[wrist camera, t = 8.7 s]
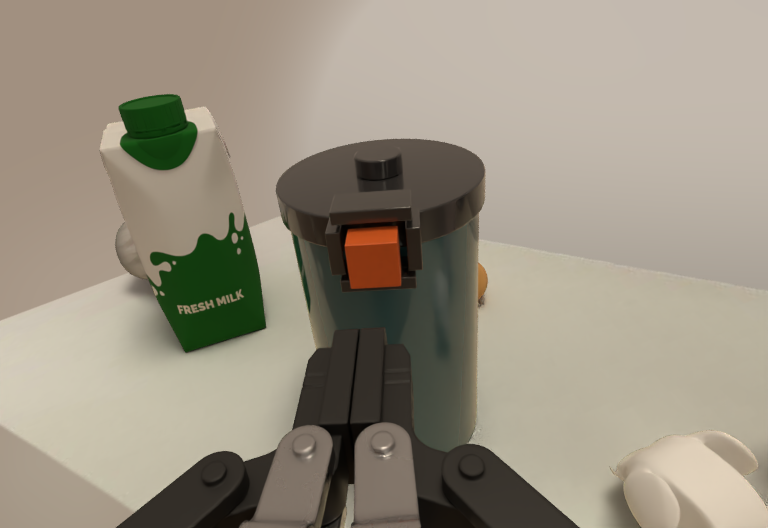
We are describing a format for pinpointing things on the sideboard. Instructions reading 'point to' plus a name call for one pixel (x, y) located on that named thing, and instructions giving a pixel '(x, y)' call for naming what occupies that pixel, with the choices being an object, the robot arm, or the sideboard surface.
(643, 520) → the elephant figurine
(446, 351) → the jug
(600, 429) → the sideboard surface
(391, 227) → the lid button
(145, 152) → the milk carton
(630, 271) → the sideboard surface
